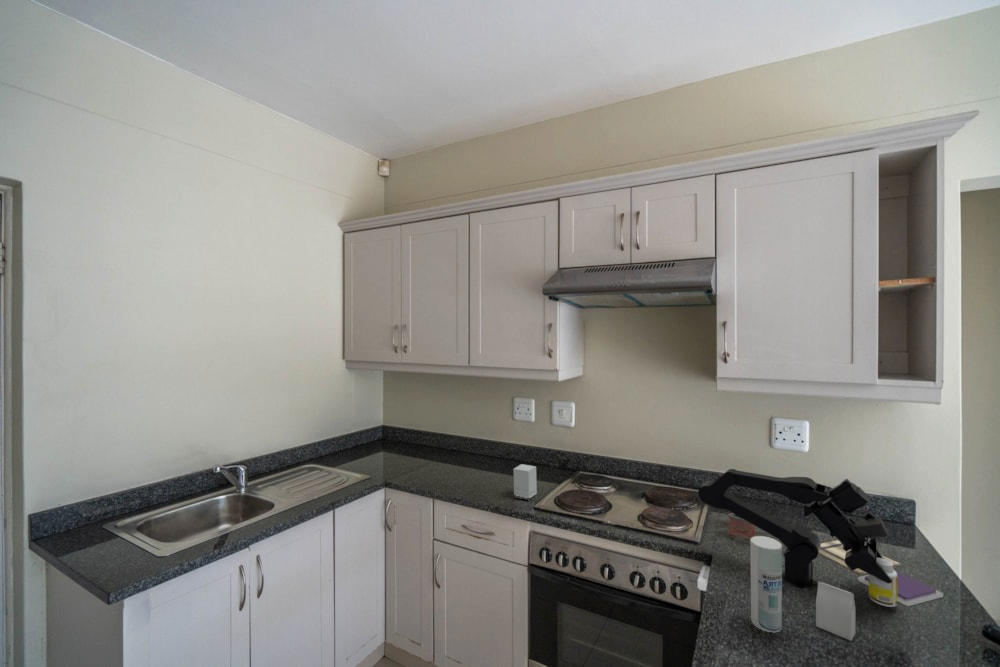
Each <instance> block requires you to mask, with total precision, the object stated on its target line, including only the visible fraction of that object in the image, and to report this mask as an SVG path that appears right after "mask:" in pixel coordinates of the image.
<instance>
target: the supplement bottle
mask: <svg viewBox="0 0 1000 667" xmlns="http://www.w3.org/2000/svg"><path fill="white" fill-rule="evenodd" d="M876 560H877V562H878V563H879V564H880V566H881V567H882V568H883V569H884V571H885V572H886V573H887V575H888V576H889V577H890V579H891V580H892V582H891V583H889V584H888V583H886V582H884V581H882V580H880V579H878V578H876V577H874V576H873V575H871V574H869V573H868V575H869V586H868V596H869V598H870V600H871V601H873V603H876V604H877V605H880V606H883V607H887V608H888V607H889V608H893V607H896V606H897V605H898V601H897V573H896V572H897V571H896V570H895V569H894V567H893V563H892V562H890V561H889V560H886V559H883V558H876Z"/></svg>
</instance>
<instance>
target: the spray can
mask: <svg viewBox="0 0 1000 667" xmlns="http://www.w3.org/2000/svg"><path fill="white" fill-rule="evenodd" d="M749 546H750V549H749V550H750V551H749V553H750V560H749V561H750V620H751V624H752V623H753V624H754V625H755V626H756V627H758V628H759V629H761V630H763V631H767V632H773V633H775V632H779V631H780V630H781V631H782V627H783V626H782V623H783V622H782V620H783V619H782V618H783V617H782V614H783V613H782V610H783V605H782V604H783V603H782V602H783V601H782V600H783V593H782V591H783V590H782V589H783V578H782V573H783V544H782V542H781V541H778V540H777V539H774V538H773V537H772V538H771V537H768V536H764V535H755V536H754V537H752V538H751V540H750V545H749ZM753 624H752V625H753ZM756 627H755V628H756ZM781 631H780V632H781Z"/></svg>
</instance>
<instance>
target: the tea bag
mask: <svg viewBox="0 0 1000 667" xmlns="http://www.w3.org/2000/svg"><path fill="white" fill-rule="evenodd" d="M817 583H818V584H817V592H816V597H815V598H816V599H815V627H817V628H820V629H822V630H824V631H826V632H829V633H832V634H833V635H835V636H839V637H841V638H843V639H846V640H848V641H850V642H852V641H853V639H854V637H855V635H856V605H855V604H856V602H855V594H854V593H853V592H851V591H848V590H845V589H841V588H839V587H837V586H833V585H831V584H827V583H826V582H822V581H817Z"/></svg>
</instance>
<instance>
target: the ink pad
mask: <svg viewBox="0 0 1000 667" xmlns="http://www.w3.org/2000/svg"><path fill="white" fill-rule="evenodd" d="M896 573H897V603H901V604H902V605H905V607H911V606H915V605H918V604H923V603H926V602H930V601H933V600H938V599H940V598H944V593H943V592H942V591H940V590H937V589H935V588H933V587H930V586H929V585H927V584H924V583H922V582H920V581H918V580H916V579H914V578H911V577H910V576H907V575H905V574H903V573H901V572H898V571H896ZM857 581H858V582H859V583H862V584H863V585H865V586H867V587H869V574H864V575H862V576H861V575H860V576H858V577H857Z"/></svg>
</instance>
